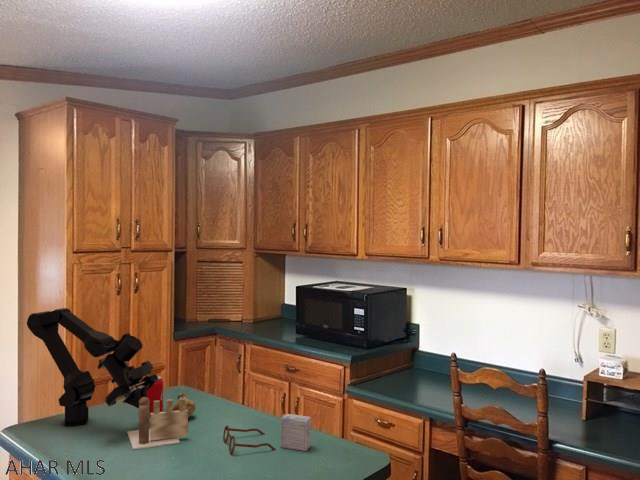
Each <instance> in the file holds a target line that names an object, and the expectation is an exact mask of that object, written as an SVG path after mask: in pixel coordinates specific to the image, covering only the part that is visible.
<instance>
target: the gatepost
mask: <svg viewBox="0 0 640 480" xmlns="http://www.w3.org/2000/svg"><path fill="white" fill-rule="evenodd" d="M149 404H150V400H149V398H147V397H142V398H141V399H140V400H139V408H138V409H139V410H138V430H139V443H140V444H146V443H148V442H149V429H150V415H149Z"/></svg>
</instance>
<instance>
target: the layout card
mask: <svg viewBox="0 0 640 480" xmlns="http://www.w3.org/2000/svg"><path fill="white" fill-rule="evenodd" d="M126 433H127V436H128V439H129V442H130V445H131V448H132V450H133V451H135V450H141V449H147V448H148V449H149V448H154V447H162V446H169V445H176V444H180V443H181V441H180V439H179V437H174V438H165V439H156V440H150V428H149V442H148V443H146V444H140V443H139V429H136V430H130V431H129V430H128V431H126Z"/></svg>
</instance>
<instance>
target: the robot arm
mask: <svg viewBox="0 0 640 480" xmlns="http://www.w3.org/2000/svg"><path fill="white" fill-rule="evenodd" d="M26 326H27V328H28V330H29V331H30V332H31V333H32V334H33V336H35V337H37V338H38V339H40V340H42V343H44V345H45V347H46V348H47V350H48V352H49V354H50V356H51V358H52V359H53V361H54V364H55V365H56V367H57V369H58V370H59V372H60V374H61V375H62V377H63V386H62V388H63V391H64V393H63V394H62V395H61V396H60V397H59V398H58V403H59V406H60V407H64V418H63V426H64V427H71V426H79V425H80V426H81V425H85V424H88V421H89V411H90V410H89V405H88V404H87V403H88V401H91V400H92V398H93V395H94V393H95V389H96V385H95V381H96V380H95V379H93V377H92V374H91V373H90V371H89V370H85V371H82V370H80V369H79V367H78V365H77V363H76V361H75V359H74V358H73V356H72V355H71V353H70V350H69V349H68V348H67V346H66V345H65V342H64V340H63V339H62V337H61V336H60V333H59V327H60V326H62V327H63V328H65V330H67V331H68V332H69V333H71V334H72V335H74V336H75V337H76V338H77V339H78V340H80V341H81V342H82V343H83V346H84V349H85V351H86V352H88V354H90V356H92V357H94V358H99V357H103V356H105V357H104V358H100V359H98V365H97V370H100V369H104V368H105V369H106V371H107V373H109V375H110V376H111V380H110V382H111V384H116V385H117V386H116V387H115V388H113V389H112V390H111V391H110V392H109V393H108V394H107V395H106V396H105V403H106V405H107V406H108V407H109V408H110V407H111V406H114V405H116V404H117V400H118V399H119V398H122V397H123V398H124V399H123V401H122V403H123V404H127V405H130V406H133V407H135V408H137V409H139V400H140V399H141V398H142V397H147V393H146V392H147V390H148V389H150V388H151V387H152V386H153V385H154V384H155V383H156V382H157V381H158V380H159V378H158V377H157V376H158V375H157V374H156V373H152V372H153V369H154V366H153V364H152V363H151V362H150V361H149V360H145V361H143V362H141V365H140V366H138V367H135V366H134V365H131V366H130V365H129V364H128V363H127V362H130V361H132V359H133V358H134V357H135V356H136V355H137V354H138V353H139V352H140V351H141V350H142V349H143V343H142V340H140V338H137V337H136V336H134V335H131V334H130V333H129V332H126V333H124V334H123V335H122V336H121V337H120V339H119V340H118V339H115V338H114V337H113V336H111V335H110V334H108V333H106V332H103V331H98V330H96V329H94V328H93V327H91V326H90V325H88V324H87V323H86V322H85V321H83V320H82V319H81V318H79V317H78V316H77V315H75V314H74V313H73V312H72V311H71V309H70V308H66V307H62V308H57V309H54V310H51V311H50V310H47V311H41V312H39V311H38V312H33V313H31V314H29V316H28V317H27V320H26ZM150 410H151V409H150V406H149V411H150Z"/></svg>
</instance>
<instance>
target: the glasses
mask: <svg viewBox="0 0 640 480" xmlns="http://www.w3.org/2000/svg"><path fill="white" fill-rule="evenodd" d="M223 429H224V430H223V433H222V435H223V436H222V439H223V442H224V443H227V442H228V439H229V444H228V452H229V454H230V455H233V453H234V451H235V447H241V448H260V447H266V446H268V447H269V448H270V449H271V450H272V451H276V450H277V449H276V448H275V447H274V446H272V444H270V443H266V442H265V443H259V444H247V443H246V444H245V443H236V437H235V435H231V433H230V432H239V433H240V432H241V433H243V432H244V433H249V432H256V431H257V432H258V433H259V434H260V435H262V436H263V435H266V433H264V432H263V431H262V430H261V429H259V428H249V429H242V428H230V427H229V425H225V426H224V428H223ZM226 432H227V433H226ZM232 441H233V445H232ZM231 446H232V447H231Z"/></svg>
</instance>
